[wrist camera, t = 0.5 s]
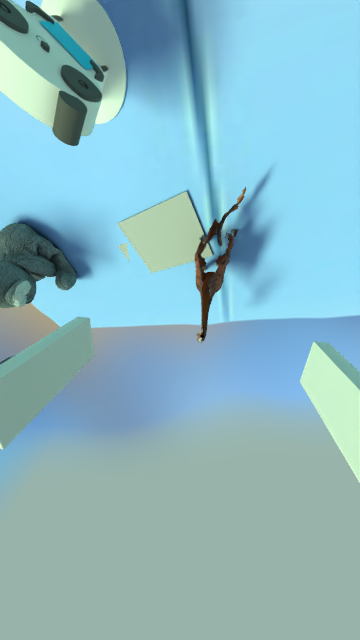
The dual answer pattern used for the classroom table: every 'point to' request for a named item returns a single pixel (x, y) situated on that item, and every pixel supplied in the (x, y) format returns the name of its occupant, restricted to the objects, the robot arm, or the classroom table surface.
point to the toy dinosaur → (212, 280)
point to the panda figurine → (62, 64)
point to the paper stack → (165, 234)
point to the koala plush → (29, 265)
